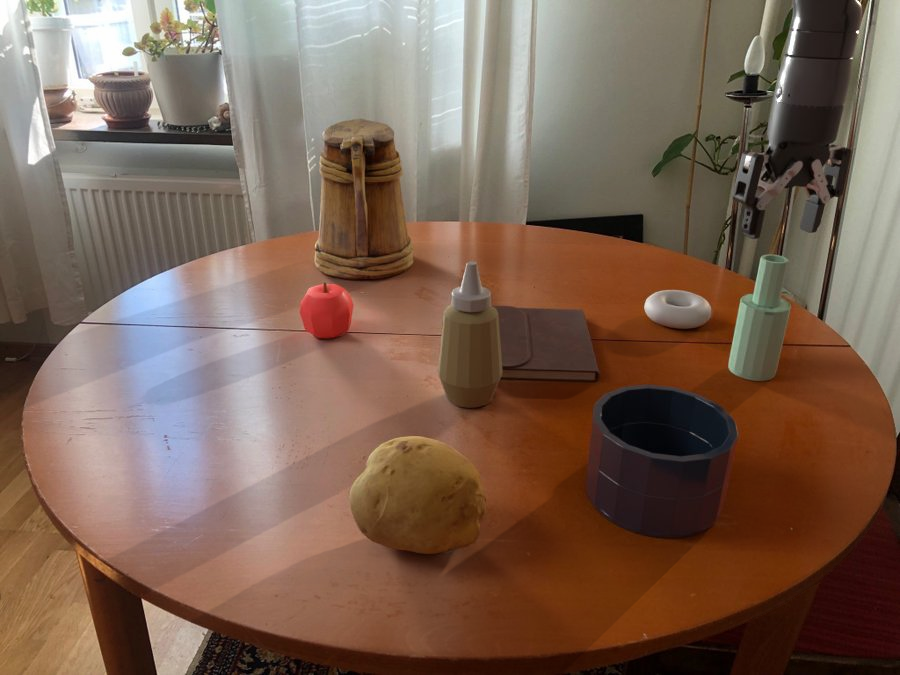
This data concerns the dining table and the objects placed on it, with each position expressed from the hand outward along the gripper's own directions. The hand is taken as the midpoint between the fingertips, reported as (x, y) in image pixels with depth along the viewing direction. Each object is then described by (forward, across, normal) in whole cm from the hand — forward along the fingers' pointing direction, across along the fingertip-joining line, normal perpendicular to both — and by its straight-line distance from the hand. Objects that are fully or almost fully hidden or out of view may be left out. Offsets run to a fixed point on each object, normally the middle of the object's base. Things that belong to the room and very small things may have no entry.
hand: (779, 234), depth 92 cm
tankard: (+20, -41, +54) cm, 71 cm away
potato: (+20, -52, -18) cm, 58 cm away
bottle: (+19, 0, 0) cm, 19 cm away
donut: (+20, 0, +17) cm, 26 cm away
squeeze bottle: (+20, -38, +5) cm, 43 cm away
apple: (+20, -52, +29) cm, 63 cm away
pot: (+19, -27, -19) cm, 38 cm away
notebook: (+20, -24, +15) cm, 35 cm away
